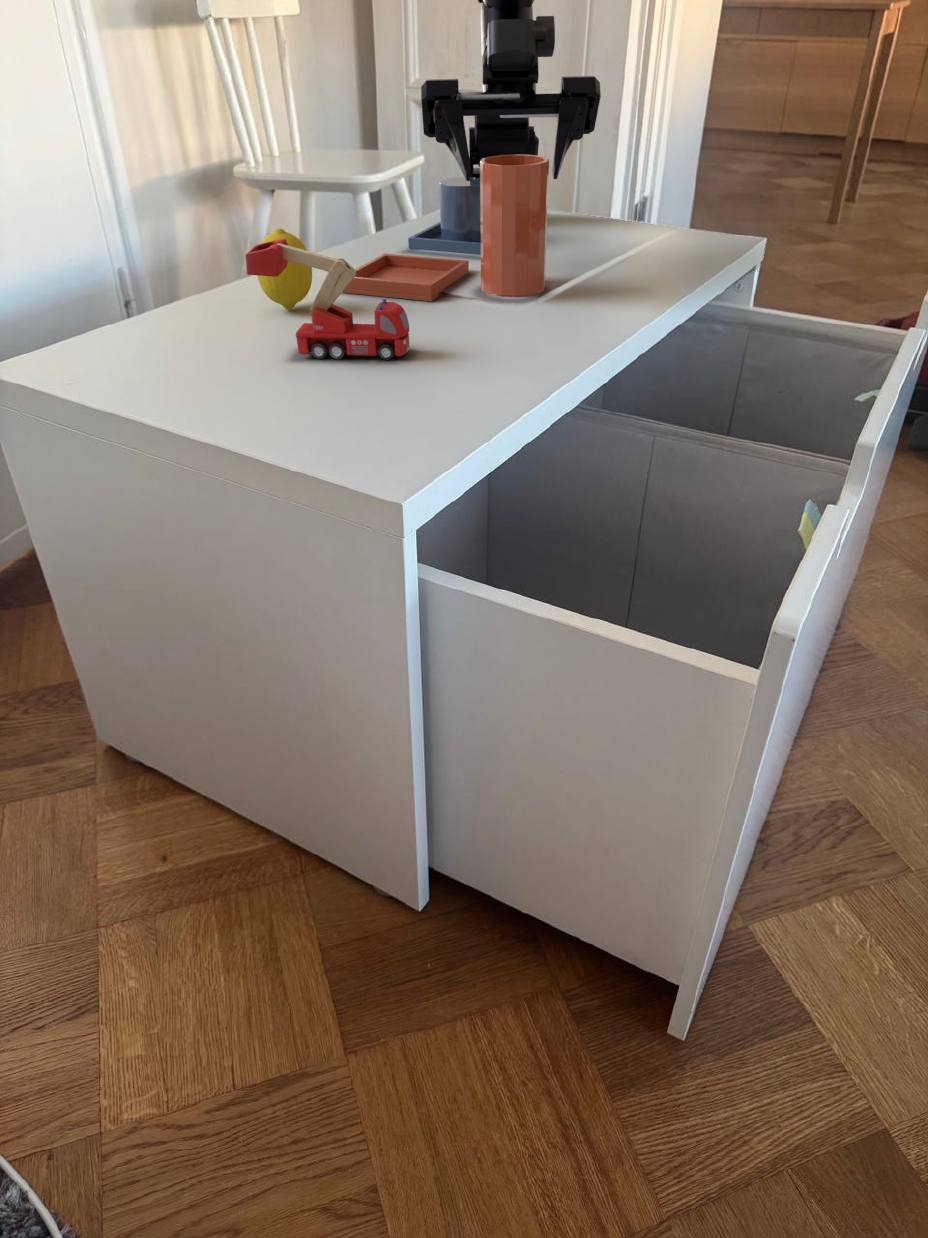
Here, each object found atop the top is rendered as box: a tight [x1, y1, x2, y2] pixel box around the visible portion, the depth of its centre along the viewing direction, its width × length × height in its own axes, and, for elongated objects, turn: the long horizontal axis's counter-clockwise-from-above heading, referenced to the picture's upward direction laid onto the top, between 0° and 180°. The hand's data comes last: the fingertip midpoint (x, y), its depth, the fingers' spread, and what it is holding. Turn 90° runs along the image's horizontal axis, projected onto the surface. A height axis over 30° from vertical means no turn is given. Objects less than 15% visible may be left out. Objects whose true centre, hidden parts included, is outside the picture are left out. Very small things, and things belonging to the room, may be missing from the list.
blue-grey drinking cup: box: [438, 176, 481, 243], centre depth 114 cm, size 6×6×7 cm
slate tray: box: [407, 221, 481, 256], centre depth 116 cm, size 11×11×2 cm
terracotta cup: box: [479, 154, 550, 299], centre depth 95 cm, size 7×7×13 cm
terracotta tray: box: [342, 253, 470, 302], centre depth 102 cm, size 11×11×2 cm
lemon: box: [257, 227, 313, 311], centre depth 93 cm, size 6×6×8 cm
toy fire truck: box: [244, 239, 410, 361], centre depth 81 cm, size 3×14×10 cm, turn 84°
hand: (512, 177), depth 96 cm, fingers open, 9 cm apart
